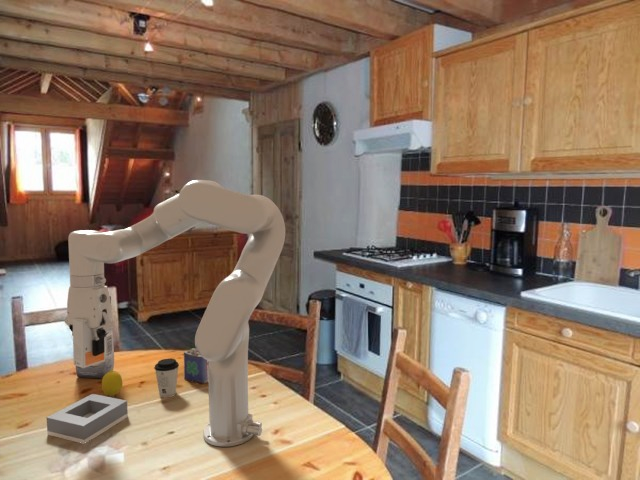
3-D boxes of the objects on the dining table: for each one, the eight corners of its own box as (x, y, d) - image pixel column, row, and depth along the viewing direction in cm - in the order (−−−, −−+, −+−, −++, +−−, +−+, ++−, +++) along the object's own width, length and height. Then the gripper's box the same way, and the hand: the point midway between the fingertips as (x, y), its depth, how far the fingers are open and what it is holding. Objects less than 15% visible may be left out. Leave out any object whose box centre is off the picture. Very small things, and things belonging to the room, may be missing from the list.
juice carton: (89, 368, 156) (85, 290, 153) (118, 369, 154) (114, 291, 151) (71, 378, 147) (66, 296, 144) (102, 380, 145) (97, 297, 143)
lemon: (115, 401, 131) (113, 374, 130) (98, 400, 132) (96, 373, 131) (126, 393, 136) (125, 367, 135) (110, 391, 137) (109, 366, 136)
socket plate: (127, 416, 122) (127, 400, 122) (84, 443, 109) (83, 426, 109) (93, 409, 126) (92, 393, 126) (47, 434, 113) (46, 417, 113)
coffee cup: (164, 401, 131) (163, 367, 130) (150, 395, 135) (149, 362, 134) (184, 393, 136) (183, 360, 135) (170, 387, 141) (169, 355, 140)
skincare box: (83, 369, 111) (81, 320, 109) (73, 365, 113) (71, 318, 112) (106, 361, 116) (105, 315, 115) (96, 357, 118) (94, 312, 117)
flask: (209, 382, 144) (208, 349, 143) (203, 385, 142) (202, 352, 141) (188, 376, 149) (187, 344, 148) (181, 379, 146) (180, 347, 145)
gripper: (126, 281, 113) (128, 352, 115) (73, 275, 118) (76, 343, 120) (102, 287, 106) (105, 362, 108) (47, 280, 111) (50, 352, 113)
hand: (89, 351), depth 114 cm, fingers closed on skincare box, 4 cm apart
